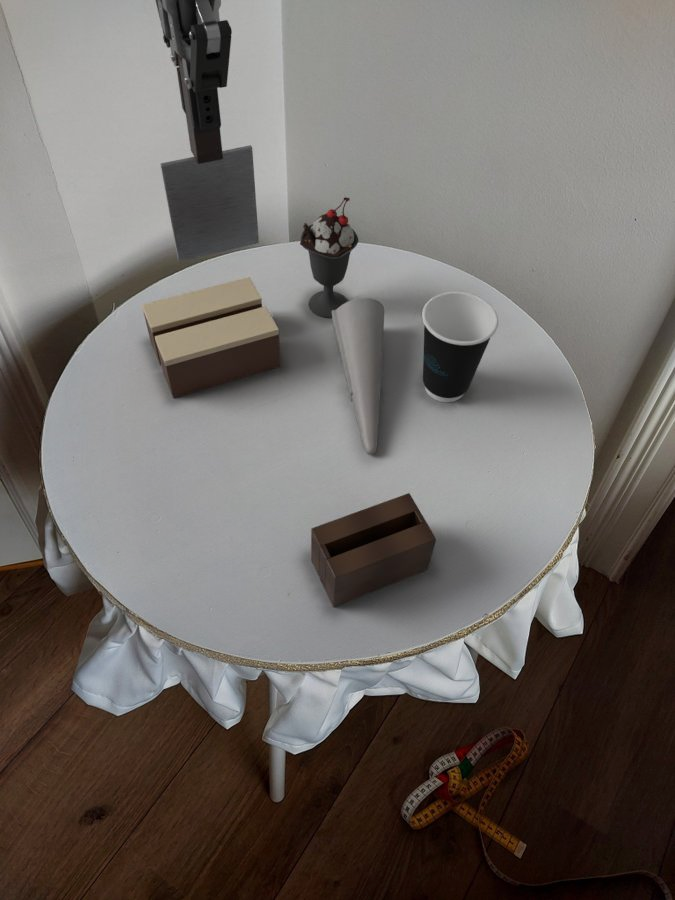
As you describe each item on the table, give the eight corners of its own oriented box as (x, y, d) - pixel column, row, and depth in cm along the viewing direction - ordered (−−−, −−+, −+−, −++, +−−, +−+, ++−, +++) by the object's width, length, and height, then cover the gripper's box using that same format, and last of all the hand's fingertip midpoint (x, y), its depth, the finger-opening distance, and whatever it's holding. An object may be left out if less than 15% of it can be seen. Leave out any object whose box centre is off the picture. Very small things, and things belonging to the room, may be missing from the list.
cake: (173, 398, 82) (164, 361, 77) (150, 342, 87) (141, 304, 82) (280, 366, 85) (278, 329, 81) (252, 314, 91) (249, 276, 86)
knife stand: (333, 607, 67) (335, 578, 62) (311, 559, 70) (311, 528, 65) (428, 569, 70) (436, 538, 65) (402, 525, 73) (409, 492, 68)
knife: (181, 268, 68) (146, 73, 53) (175, 253, 69) (139, 60, 55) (262, 248, 70) (249, 56, 56) (254, 235, 71) (240, 43, 57)
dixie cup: (483, 370, 86) (503, 299, 77) (472, 419, 81) (492, 350, 73) (418, 355, 87) (430, 284, 78) (404, 403, 82) (415, 333, 74)
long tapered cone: (423, 429, 75) (383, 293, 85) (363, 441, 75) (330, 303, 84) (421, 456, 80) (384, 324, 90) (365, 468, 80) (334, 334, 89)
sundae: (364, 299, 93) (372, 196, 81) (336, 329, 89) (339, 227, 77) (321, 280, 95) (322, 177, 83) (291, 309, 91) (289, 205, 79)
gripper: (85, -172, 48) (136, 89, 62) (136, -102, 41) (181, 176, 54) (195, -180, 50) (220, 74, 64) (263, -115, 42) (274, 157, 56)
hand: (202, 120), depth 59 cm, fingers closed on knife, 2 cm apart
